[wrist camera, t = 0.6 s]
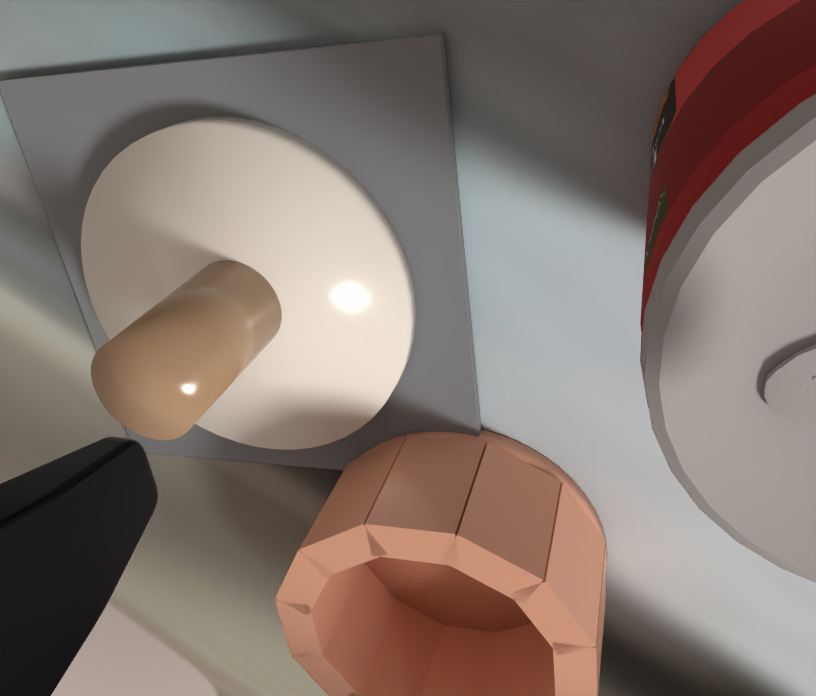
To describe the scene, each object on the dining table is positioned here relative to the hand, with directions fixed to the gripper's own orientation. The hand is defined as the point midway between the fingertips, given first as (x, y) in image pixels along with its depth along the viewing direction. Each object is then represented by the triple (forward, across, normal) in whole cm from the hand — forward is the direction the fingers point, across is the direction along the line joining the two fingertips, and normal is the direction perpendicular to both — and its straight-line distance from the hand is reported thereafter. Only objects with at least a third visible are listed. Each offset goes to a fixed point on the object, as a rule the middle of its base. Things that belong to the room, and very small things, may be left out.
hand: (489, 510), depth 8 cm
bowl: (+13, +4, +14) cm, 19 cm away
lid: (+13, +10, +4) cm, 17 cm away
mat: (+13, +10, +4) cm, 17 cm away
